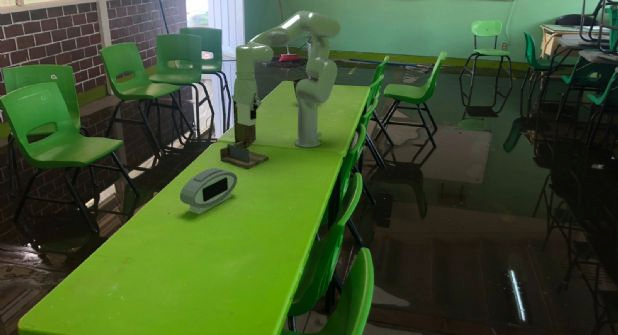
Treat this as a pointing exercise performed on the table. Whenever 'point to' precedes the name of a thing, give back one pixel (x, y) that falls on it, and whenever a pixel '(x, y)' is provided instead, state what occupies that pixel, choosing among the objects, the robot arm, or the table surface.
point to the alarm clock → (208, 189)
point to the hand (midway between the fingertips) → (246, 117)
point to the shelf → (241, 156)
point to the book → (243, 131)
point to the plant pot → (297, 83)
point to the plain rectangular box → (244, 114)
